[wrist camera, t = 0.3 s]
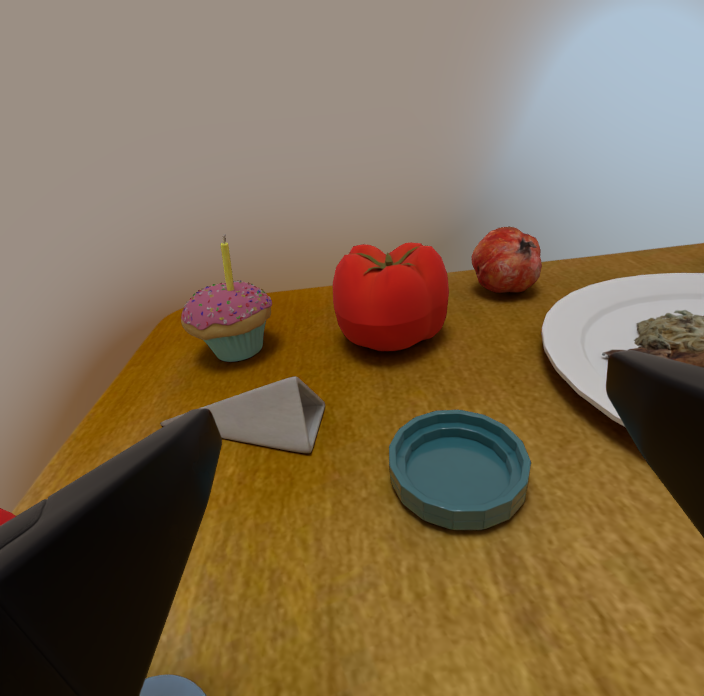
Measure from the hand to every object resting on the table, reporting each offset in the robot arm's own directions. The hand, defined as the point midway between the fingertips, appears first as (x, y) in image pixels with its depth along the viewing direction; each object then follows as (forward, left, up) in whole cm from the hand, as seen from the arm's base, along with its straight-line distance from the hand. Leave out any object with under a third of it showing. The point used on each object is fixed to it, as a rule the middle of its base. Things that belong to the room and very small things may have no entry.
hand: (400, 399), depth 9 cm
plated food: (+20, -27, -15) cm, 36 cm away
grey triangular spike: (+15, +12, -15) cm, 24 cm away
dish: (+11, -3, -15) cm, 18 cm away
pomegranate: (+42, -12, -14) cm, 46 cm away
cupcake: (+28, +16, -15) cm, 35 cm away
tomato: (+29, 0, -15) cm, 32 cm away
